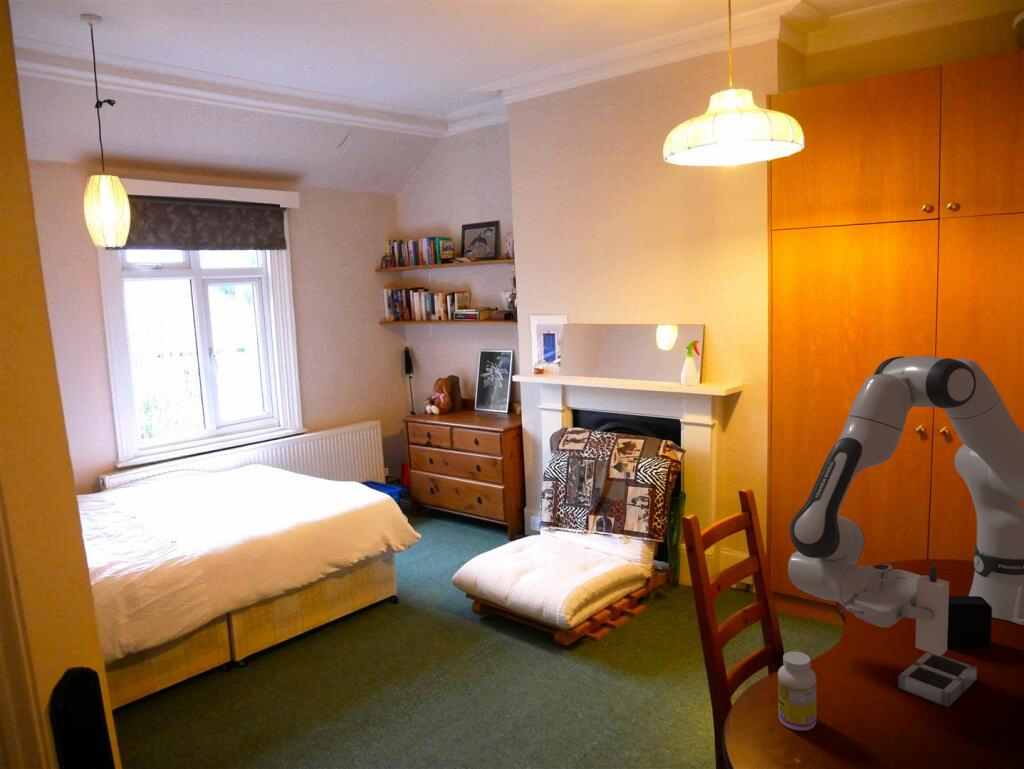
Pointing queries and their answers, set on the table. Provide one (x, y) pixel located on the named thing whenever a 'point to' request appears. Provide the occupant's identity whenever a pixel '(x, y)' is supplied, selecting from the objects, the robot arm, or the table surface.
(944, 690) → the socket box
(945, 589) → the plug
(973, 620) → the electronic device
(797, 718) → the supplement bottle
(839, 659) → the table surface
